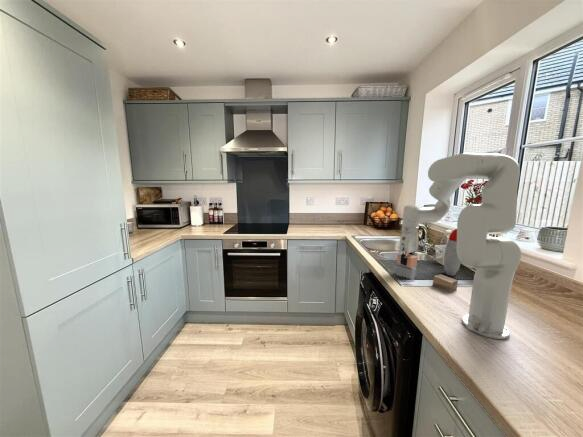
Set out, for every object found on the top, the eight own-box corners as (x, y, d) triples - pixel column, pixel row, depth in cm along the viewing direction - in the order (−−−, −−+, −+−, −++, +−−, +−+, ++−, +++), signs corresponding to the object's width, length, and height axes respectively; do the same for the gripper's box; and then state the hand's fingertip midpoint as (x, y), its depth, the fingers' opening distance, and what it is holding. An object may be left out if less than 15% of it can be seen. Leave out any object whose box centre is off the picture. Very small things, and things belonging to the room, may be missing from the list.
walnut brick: (449, 293, 105) (451, 282, 105) (432, 285, 112) (433, 276, 112) (456, 290, 108) (457, 280, 107) (439, 283, 115) (440, 274, 114)
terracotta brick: (410, 267, 118) (411, 258, 117) (396, 262, 125) (397, 253, 124) (416, 266, 120) (417, 256, 119) (403, 261, 127) (404, 252, 126)
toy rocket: (463, 277, 122) (470, 230, 118) (447, 276, 123) (453, 230, 119) (454, 271, 130) (460, 227, 126) (439, 271, 130) (444, 227, 126)
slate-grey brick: (411, 279, 119) (412, 270, 118) (395, 274, 125) (396, 265, 124) (415, 277, 122) (416, 268, 122) (400, 272, 128) (400, 263, 128)
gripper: (407, 233, 112) (404, 269, 115) (426, 229, 121) (422, 262, 124) (393, 230, 118) (390, 264, 121) (412, 226, 127) (409, 258, 130)
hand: (406, 263), depth 123 cm, fingers closed on terracotta brick, 5 cm apart
